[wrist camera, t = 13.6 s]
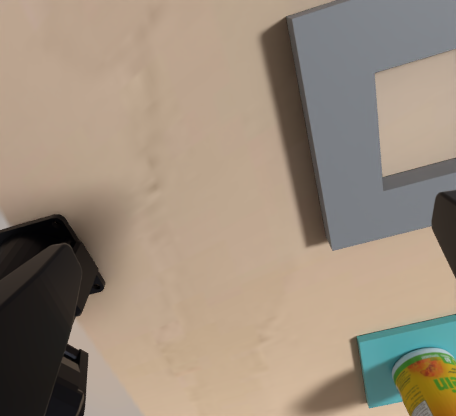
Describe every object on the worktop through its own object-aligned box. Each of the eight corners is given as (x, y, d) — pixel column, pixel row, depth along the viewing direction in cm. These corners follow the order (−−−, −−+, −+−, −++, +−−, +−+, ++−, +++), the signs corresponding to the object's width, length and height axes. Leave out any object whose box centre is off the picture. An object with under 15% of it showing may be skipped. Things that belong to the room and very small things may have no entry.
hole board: (326, 237, 25) (332, 250, 24) (285, 16, 18) (291, 18, 17) (540, 182, 24) (559, 194, 22) (588, -82, 17) (620, -87, 15)
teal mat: (366, 402, 36) (369, 408, 35) (356, 336, 31) (359, 342, 30) (472, 380, 35) (476, 386, 34) (480, 308, 30) (485, 314, 29)
